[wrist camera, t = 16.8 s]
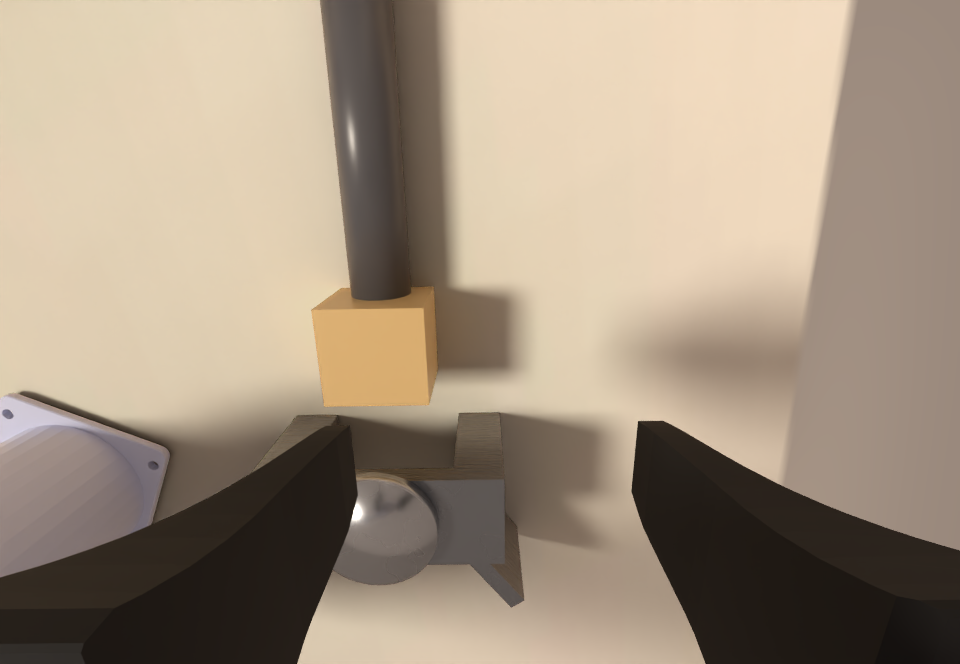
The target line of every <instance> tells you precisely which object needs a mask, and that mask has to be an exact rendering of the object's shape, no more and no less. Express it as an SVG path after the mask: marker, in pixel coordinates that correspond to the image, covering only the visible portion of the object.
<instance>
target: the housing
mask: <svg viewBox="0 0 960 664" xmlns="http://www.w3.org/2000/svg"><path fill="white" fill-rule="evenodd" d="M325 426H339V425H338V417H337V415H315V416H296V418H295V419H294V420H293V421H292V422H291V424H290V425H289V426H288V427H287V429H286V430H285V431H284V432H283V434H282V435H281V436H280V437H279V439H278V440H277V441H276V442H275V444H274V445H273V446H272V447H271V449H270V450H269V451H268V452H267V454H266V455H265V456H264V457H263V459H262V460H261V461H260V462H259V464H258V465H257V466H256V467H255V469H254V470H253V471H252V472H254V471H256V470H257V469H259V468H261V467H262V466H264V465H265V464H267V463H269V462H270V461H272V460H273V459H275V458H276V457H278V456H279V455H281V454H282V453H284V452H285V451H287V450H288V449H290V448H291V447H293V446H294V445H296V444H297V443H299V442H300V441H302V440H303V439H305V438H306V437H308V436H309V435H311V434H312V433H314V432H316V431H317V430H319V429H321V428H323V427H325ZM252 472H251V473H252ZM355 473H356V481H357V490H358V497H357V501H356V505H355V509H354V513H353V517H352V520H351V524H350V527H349V531H348V534H347V536H346V539H345V541H344V544H343V546H342V549H341V551H340V553H339V556H338V558H337V561H336V563H335V565H334V568H333V570H334V571H335V572H337V573H338V574H340V575H342V576H344V577H346V578H348V579H350V580H353V581H356V582H360V583H364V584H370V585H388V584H394V583H398V582H401V581H404V580H407V579H409V578H411V577H413V576H414V575H416V574H417V573H419V572H420V571H421V570H422V569H423V568H424V567H425V566H426V565H447V564H470V565H471V566H472V567H473V568H474V569H475V570H476V571H477V572H478V573H479V574H480V575H481V576H482V577H483V578H484V580H485V581H486V582H487V583H488V584H489V585H490V586H491V587H492V588H493V589H494V590H495V591H496V592H497V593H498V594H499V595H500V596H501V597H502V598H503V599H504V600H505V601H506V602H507V603H508V605H509V606H510V607H511V608H512V607H513V606H515V605H517V604H519V603H520V602H522V601H524V593H523V583H522V572H521V562H520V552H519V542H518V532H517V526H516V525H515V524H514V523H513V522H512V521H511V519H510V518H509V517H508V516H507V515H506V514H505V483H504V466H503V452H502V439H501V425H500V413H459V417H458V427H457V436H456V446H455V455H454V465H453V468H416V469H355Z"/></svg>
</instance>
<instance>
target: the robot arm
mask: <svg viewBox="0 0 960 664" xmlns="http://www.w3.org/2000/svg"><path fill="white" fill-rule="evenodd" d="M11 411H12V412H11ZM169 459H170V453H169V451H168V450H167V449H166V448H165V447H163V446H161V445H158V444H156V443H153V442H150V441H147V440H144V439H142V438H139V437H136V436H133V435H131V434H128V433H125V432H122V431H119V430H117V429H114V428H111V427H108V426H106V425H103V424H100V423H97V422H94V421H92V420H89V419H86V418H83V417H81V416H78V415H75V414H72V413H69V412H67V411H64V410H61V409H58V408H56V407H53V406H50V405H47V404H44V403H42V402H39V401H36V400H33V399H31V398H28V397H25V396H22V395H19V394H16V393H10V394H7V395H5V396H3V397H2V398H0V664H297V662H298V659H299V656H300V653H301V649H302V646H303V643H304V640H305V637H306V634H307V631H308V629H309V626H310V623H311V621H312V618H313V616H314V613H315V611H316V608H317V606H318V604H319V601H320V599H321V596H322V594H323V592H324V589H325V587H326V585H327V582H328V580H329V577H330V575H331V573H332V570H333V568H334V565H335V563H336V561H337V558H338V556H339V553H340V551H341V549H342V546H343V544H344V541H345V539H346V536H347V534H348V531H349V527H350V524H351V520H352V517H353V513H354V509H355V505H356V501H357V497H358V490H357V481H356V473H355V464H354V456H353V447H352V439H351V430H350V425H346V426H325V427H323V428H321V429H319V430H317V431H316V432H314V433H312V434H311V435H309V436H308V437H306V438H305V439H303V440H302V441H300V442H299V443H297V444H296V445H294V446H293V447H291V448H290V449H288V450H287V451H285V452H284V453H282V454H281V455H279V456H278V457H276V458H275V459H273V460H272V461H270V462H269V463H267V464H265V465H264V466H262V467H261V468H259V469H257V470H256V471H254V472H252V473H251V474H249V475H247V476H246V477H244V478H242V479H241V480H239V481H238V482H236V483H234V484H233V485H231V486H229V487H227V488H226V489H224V490H222V491H220V492H218V493H217V494H215V495H213V496H211V497H209V498H207V499H205V500H203V501H201V502H199V503H197V504H195V505H193V506H191V507H189V508H187V509H185V510H183V511H181V512H179V513H177V514H175V515H173V516H170V517H168V518H166V519H163V520H161V521H159V522H156V523H154V524H152V521H153V517H154V513H155V510H156V506H157V502H158V499H159V495H160V491H161V488H162V484H163V481H164V477H165V473H166V470H167V466H168V462H169ZM153 461H154V462H156V463H157V464H158V465H156V464H155V463H154V462H153ZM632 495H633V498H634V501H635V504H636V507H637V510H638V513H639V516H640V519H641V522H642V525H643V528H644V530H645V532H646V534H647V536H648V538H649V541H650V543H651V545H652V547H653V549H654V551H655V553H656V555H657V557H658V559H659V561H660V563H661V565H662V567H663V569H664V571H665V573H666V575H667V577H668V579H669V581H670V583H671V585H672V587H673V590H674V592H675V594H676V596H677V598H678V600H679V602H680V604H681V606H682V608H683V610H684V612H685V614H686V616H687V618H688V621H689V623H690V625H691V627H692V630H693V632H694V634H695V637H696V639H697V642H698V645H699V647H700V650H701V652H702V655H703V658H704V660H705V663H706V664H960V551H959V550H956V549H952V548H949V547H945V546H942V545H938V544H935V543H932V542H929V541H925V540H922V539H918V538H915V537H912V536H909V535H906V534H903V533H900V532H897V531H894V530H890V529H888V528H884V527H882V526H879V525H877V524H874V523H871V522H868V521H866V520H863V519H860V518H857V517H855V516H852V515H849V514H846V513H844V512H841V511H839V510H836V509H833V508H831V507H829V506H826V505H824V504H822V503H819V502H817V501H815V500H812V499H810V498H808V497H806V496H803V495H801V494H799V493H796V492H794V491H792V490H790V489H788V488H785V487H783V486H781V485H779V484H777V483H775V482H773V481H771V480H769V479H767V478H765V477H763V476H761V475H760V474H758V473H756V472H754V471H752V470H750V469H748V468H746V467H744V466H742V465H741V464H739V463H737V462H735V461H733V460H732V459H730V458H728V457H726V456H725V455H723V454H721V453H719V452H718V451H716V450H714V449H712V448H711V447H709V446H707V445H706V444H704V443H702V442H700V441H699V440H697V439H695V438H694V437H692V436H690V435H689V434H687V433H685V432H683V431H682V430H680V429H678V428H676V427H674V426H672V425H671V424H669V423H666V422H664V421H638V428H637V438H636V449H635V460H634V470H633V481H632ZM151 524H152V525H151Z"/></svg>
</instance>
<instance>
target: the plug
mask: <svg viewBox="0 0 960 664" xmlns="http://www.w3.org/2000/svg"><path fill="white" fill-rule="evenodd" d="M320 5H321V14H322V24H323V33H324V43H325V52H326V61H327V71H328V80H329V90H330V99H331V109H332V118H333V128H334V137H335V146H336V156H337V165H338V175H339V184H340V194H341V203H342V212H343V222H344V231H345V241H346V250H347V260H348V269H349V278H350V288H341V289H339V290H338V291H337V292H335V293H334V294H333V295H331V296H330V297H328V298H327V299H326V300H324V301H323V302H322V303H320V304H319V305H317V306H316V307H315V308H313V309H312V310H311V311H312V318H313V326H314V333H315V341H316V348H317V356H318V363H319V371H320V378H321V386H322V393H323V401H324V407H328V406H401V405H429V403H430V399H431V395H432V391H433V387H434V383H435V379H436V375H437V371H438V358H437V338H436V318H435V299H434V287H411V281H410V266H409V250H408V235H407V220H406V205H405V189H404V174H403V159H402V144H401V128H400V113H399V98H398V83H397V67H396V52H395V37H394V22H393V6H392V0H320Z"/></svg>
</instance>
